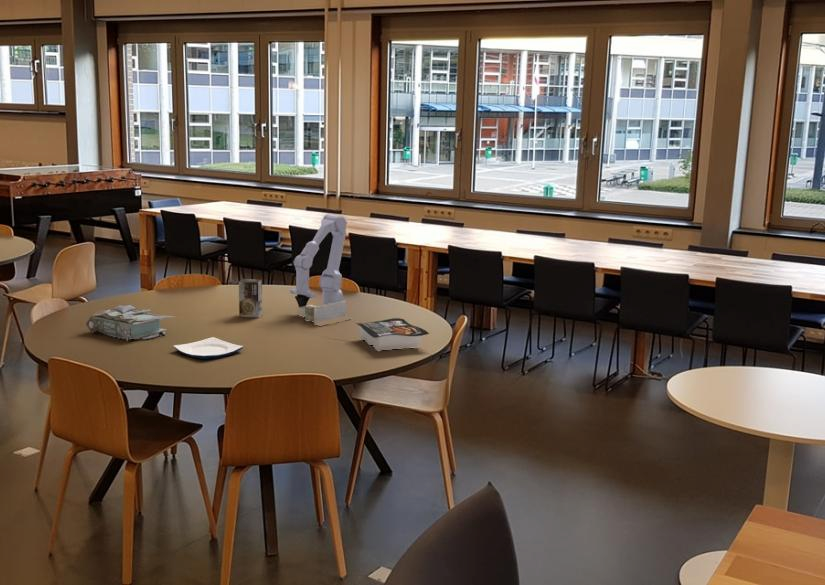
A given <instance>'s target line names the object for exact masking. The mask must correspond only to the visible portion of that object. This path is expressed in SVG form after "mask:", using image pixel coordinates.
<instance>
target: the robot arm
mask: <svg viewBox="0 0 825 585" xmlns="http://www.w3.org/2000/svg"><path fill="white" fill-rule="evenodd" d="M320 223H321V224H320V226H319V229H318V230H317V232H316V233H315V236H314V237H313V239H312V240H311V241H308V242H307V243H306V244H305V247H303V249H302V251H301V253H300V254H299V255H297V256H296V257H295V258H294V260H293V266H294V267H295V271H296V277H295V279H296V282H295V283H296V284H295V285H296V288H289V294H294V299H295V300H296V303H297V306H298V307H303V306H308V305H307V304H308V302H309V300H310V299H316V293H315V292H312V291H310V268H312V266H313V261H314V258H315V256H316V254H317V253H318V251H319V250H320V247H319V246H320V244H321V242H322V241H323V240H324V239H325V237H326V236H328V234H329V233H331V234H332V236H333V237H332V242H331V247H330V252H329V257H328V261H327V266H326V269H324V270H323V271H322V274H321V276H320V278H319V281H318V282H319V286H320V288H321V290H322V304H321V305H326V303H336V302H340V301H344V295H343V294H344V293H343V291H342V290H341V288H342V286H343V285H342V284H343V281H342V278H343V276H342V273H340V265H341V260H342V255H343V250H344V244H345V241H346V240H345V239H346V236H347V233H346V232H347V231H346V230H347V224H348V222H347V220H346V218H345V217H344V216H343V215H335V214H331V213H327V214H325V215H324V216H323V217H322V219H321V221H320Z"/></svg>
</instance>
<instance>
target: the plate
mask: <svg viewBox="0 0 825 585" xmlns="http://www.w3.org/2000/svg"><path fill="white" fill-rule="evenodd" d="M172 346H173V347H172V348H174V349H175V350H177V351H178V352H179V353H181V354H184V355H186V356H188V357H192V358H196V359H201V360H202V359H203V360H204V359H205V360H208V359H216V358H217V359H218V358H222V357H226V356H229V355H232V354H234V353H236V352H239V351H241V350H242V349H243V348H244V345H239V344H234V343H230V342H228V341H225V340H223V339H220V338H217V337H214V336H212V337H209V338H205V339H202V340H197V341H194V342H188V343H184V344H175V345H172Z"/></svg>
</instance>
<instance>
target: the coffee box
mask: <svg viewBox="0 0 825 585" xmlns="http://www.w3.org/2000/svg"><path fill="white" fill-rule="evenodd" d="M238 299H239V300H238V312H239V314H238V315H239V316H241V317H240V318H260V317H261V316H263V279H251V278H250V279H249V278H242V279H241V280H239V281H238ZM239 316H238V317H239Z"/></svg>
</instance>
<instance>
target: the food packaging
mask: <svg viewBox="0 0 825 585" xmlns="http://www.w3.org/2000/svg"><path fill="white" fill-rule="evenodd" d="M355 324H356V325H358V326H359V332H360V339H361V340H362V339H363V340H365V341H364V342H368V343H367V345H368V346H369V345H373V346H372V347H374V349H375V351H376V350H378V351H377V352H380V351H379V350H388V349H399V348H410V347H418V348H419V347H420V343H421V339H422V336H426V335H430V333H429V331H426V329H423V328H422V327H419V326H417V325H416V326H415V325H414V324H410V323H409V322H408V321H406V320H405V318H400V317H398V318H397V317H395V318H388V319H383V320H376V321H372V322H355Z"/></svg>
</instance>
